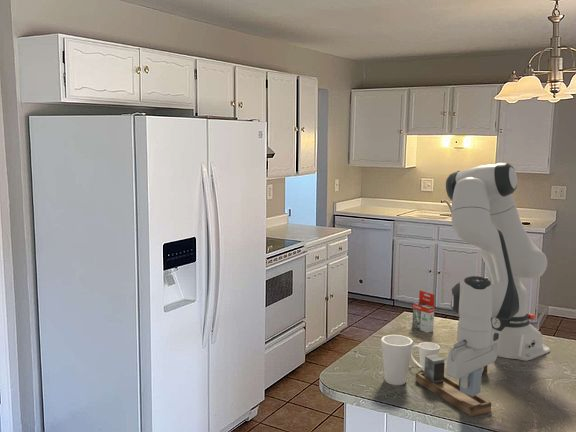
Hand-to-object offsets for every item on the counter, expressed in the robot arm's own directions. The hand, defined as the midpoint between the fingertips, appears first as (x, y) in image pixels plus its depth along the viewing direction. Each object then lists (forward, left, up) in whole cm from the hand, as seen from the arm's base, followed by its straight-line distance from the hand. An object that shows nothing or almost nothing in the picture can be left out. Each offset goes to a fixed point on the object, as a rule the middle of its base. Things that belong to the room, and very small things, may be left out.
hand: (470, 384), depth 158 cm
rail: (0, -8, -7) cm, 10 cm away
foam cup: (+9, -23, -7) cm, 25 cm away
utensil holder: (-19, -18, -7) cm, 27 cm away
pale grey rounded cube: (0, 0, -2) cm, 2 cm away
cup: (-5, -27, -7) cm, 28 cm away
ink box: (-28, -57, -7) cm, 64 cm away
